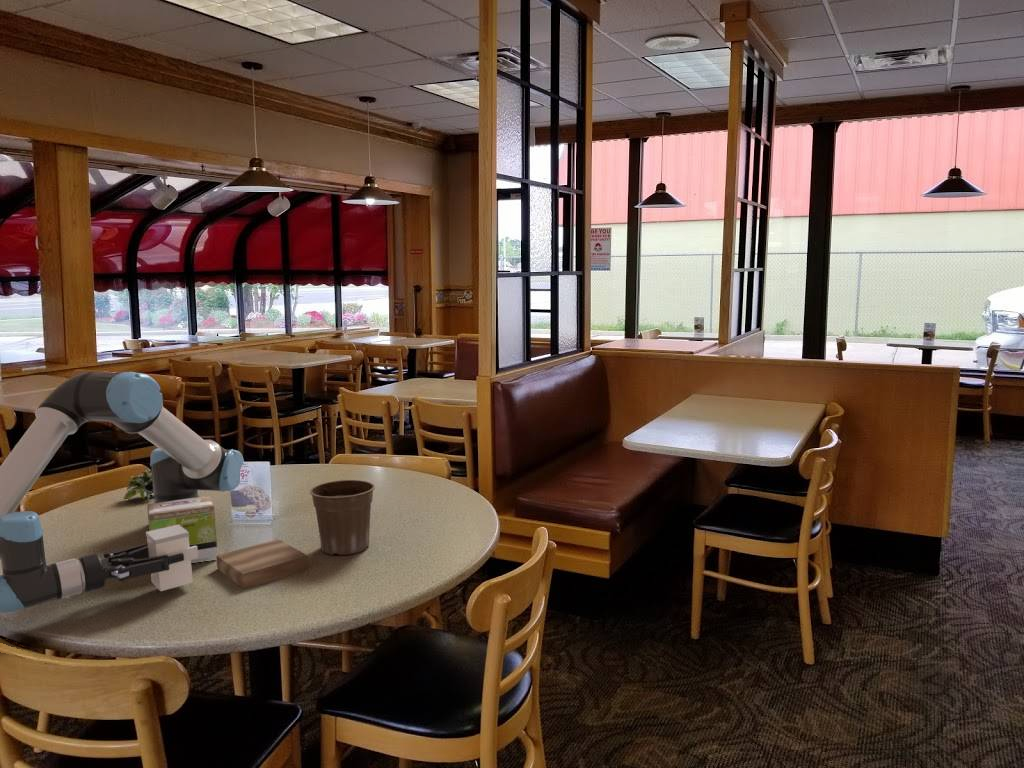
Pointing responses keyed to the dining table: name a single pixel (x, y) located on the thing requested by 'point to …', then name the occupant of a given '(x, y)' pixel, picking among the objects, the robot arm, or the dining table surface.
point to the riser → (262, 563)
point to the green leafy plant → (140, 485)
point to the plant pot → (343, 515)
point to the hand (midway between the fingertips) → (191, 547)
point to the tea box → (188, 522)
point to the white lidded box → (165, 543)
